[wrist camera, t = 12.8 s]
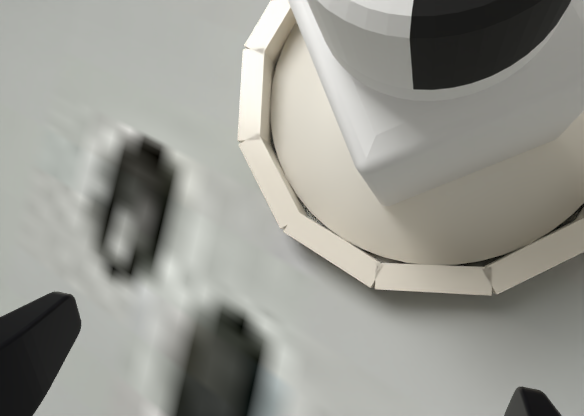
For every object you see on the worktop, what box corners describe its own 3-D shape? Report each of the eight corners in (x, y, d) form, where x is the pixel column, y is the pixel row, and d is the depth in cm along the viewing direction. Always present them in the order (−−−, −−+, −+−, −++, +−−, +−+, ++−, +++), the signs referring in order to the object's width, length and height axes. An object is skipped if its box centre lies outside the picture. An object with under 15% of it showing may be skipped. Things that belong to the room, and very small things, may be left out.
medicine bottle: (481, -16, 19) (559, -428, 8) (561, 138, 18) (802, -98, 6) (321, 61, 21) (194, -194, 9) (382, 210, 19) (318, 121, 8)
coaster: (749, 1, 17) (778, -24, 16) (512, 375, 18) (519, 384, 16) (368, -129, 22) (364, -157, 20) (191, 169, 22) (174, 162, 21)
